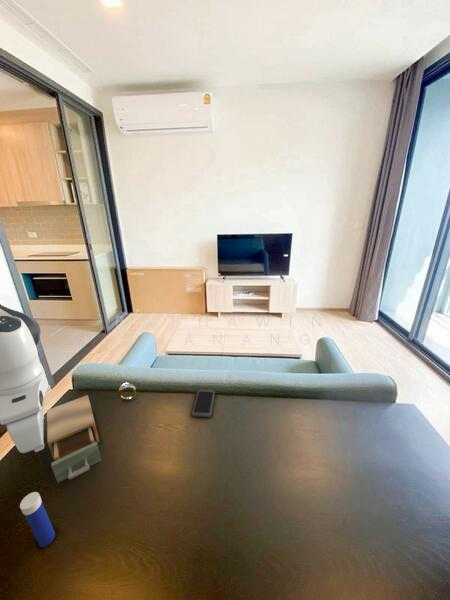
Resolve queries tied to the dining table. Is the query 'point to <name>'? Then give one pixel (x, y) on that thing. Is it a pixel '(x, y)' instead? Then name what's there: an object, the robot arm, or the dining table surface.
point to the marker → (37, 519)
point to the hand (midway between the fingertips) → (40, 434)
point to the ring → (124, 388)
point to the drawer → (75, 455)
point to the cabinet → (69, 421)
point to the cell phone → (203, 403)
